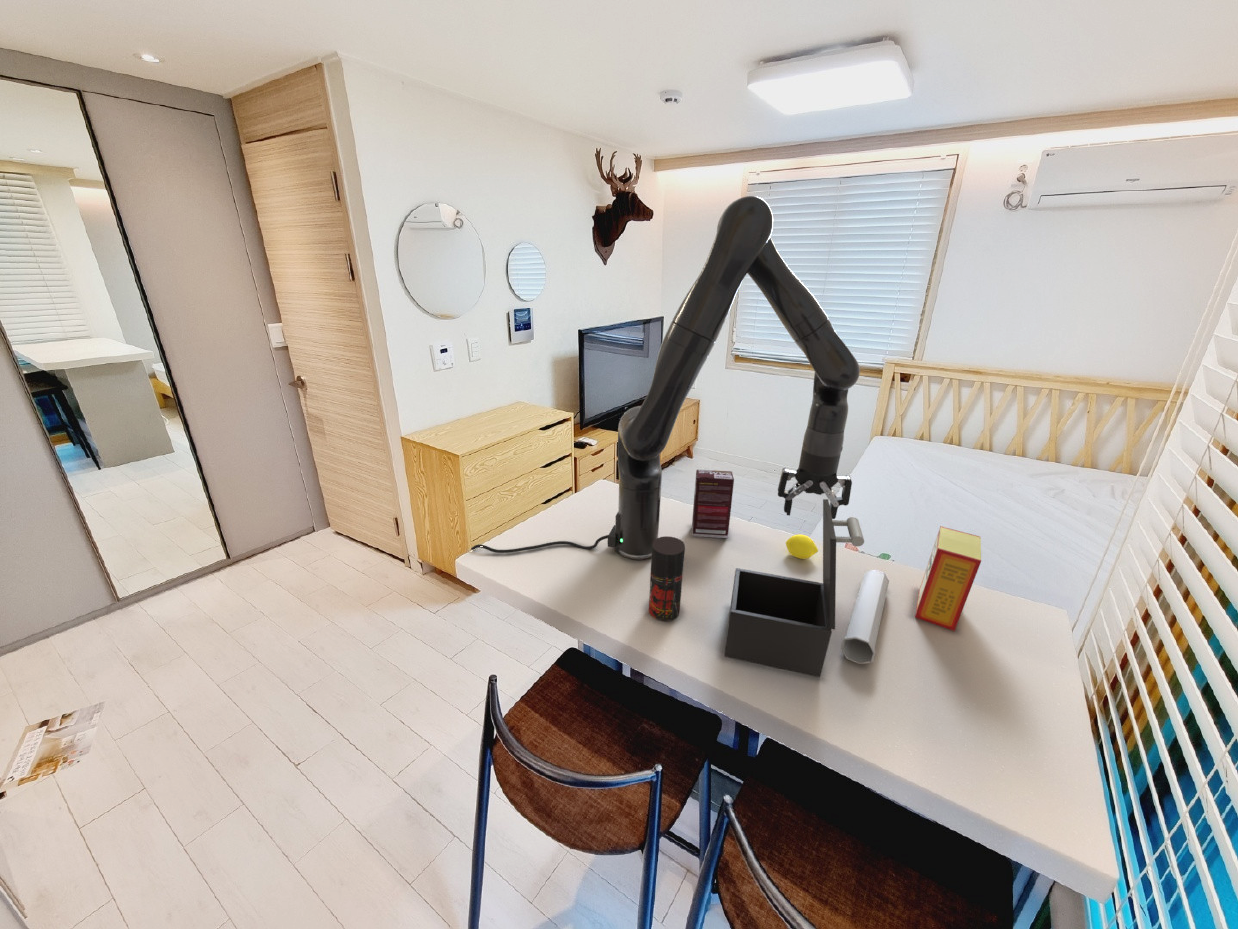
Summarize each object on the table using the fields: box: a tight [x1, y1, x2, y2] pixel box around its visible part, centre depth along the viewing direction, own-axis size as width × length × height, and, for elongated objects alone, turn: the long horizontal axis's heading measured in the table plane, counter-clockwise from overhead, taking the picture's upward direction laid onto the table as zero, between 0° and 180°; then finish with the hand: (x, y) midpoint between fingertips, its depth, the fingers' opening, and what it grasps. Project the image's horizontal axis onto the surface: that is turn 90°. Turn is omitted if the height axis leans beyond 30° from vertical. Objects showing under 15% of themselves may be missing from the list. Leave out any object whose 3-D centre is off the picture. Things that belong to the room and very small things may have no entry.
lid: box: [822, 498, 865, 630], centre depth 80 cm, size 16×13×5 cm
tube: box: [840, 569, 890, 665], centre depth 94 cm, size 5×5×25 cm
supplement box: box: [691, 469, 735, 539], centre depth 119 cm, size 9×5×16 cm, turn 84°
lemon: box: [785, 534, 819, 560], centre depth 113 cm, size 7×5×5 cm
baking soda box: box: [914, 525, 982, 632], centre depth 95 cm, size 10×6×16 cm
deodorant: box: [648, 535, 686, 623], centre depth 93 cm, size 6×6×15 cm
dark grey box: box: [724, 567, 833, 678], centre depth 88 cm, size 16×13×10 cm
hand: (808, 516), depth 110 cm, fingers open, 8 cm apart
